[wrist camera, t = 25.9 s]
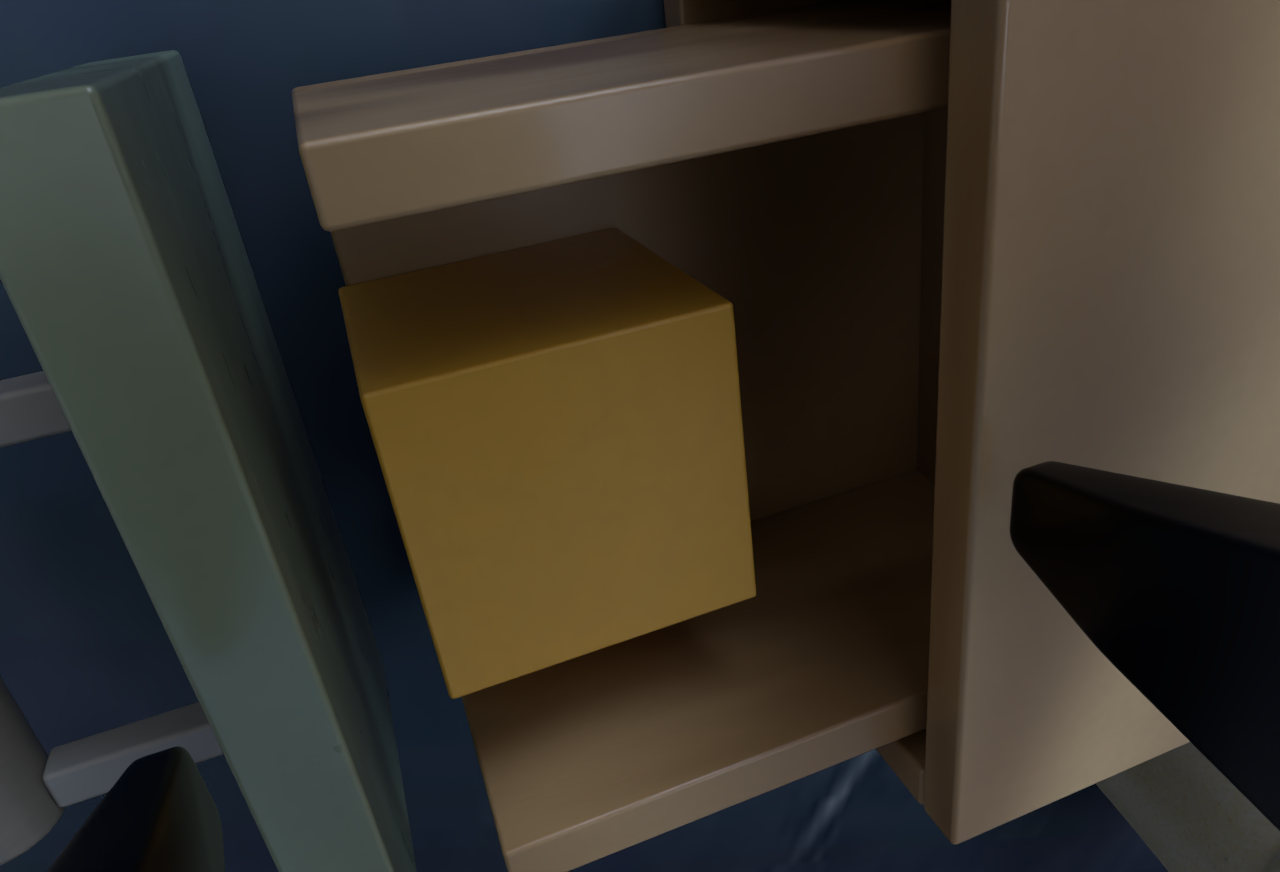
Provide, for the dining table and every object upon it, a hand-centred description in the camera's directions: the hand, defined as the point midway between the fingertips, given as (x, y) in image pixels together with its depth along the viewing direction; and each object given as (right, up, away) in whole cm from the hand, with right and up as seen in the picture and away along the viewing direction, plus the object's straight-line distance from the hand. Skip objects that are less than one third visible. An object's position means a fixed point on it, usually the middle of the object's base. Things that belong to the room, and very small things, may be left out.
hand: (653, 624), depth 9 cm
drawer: (-3, +3, +7) cm, 8 cm away
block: (-2, +3, +6) cm, 7 cm away
